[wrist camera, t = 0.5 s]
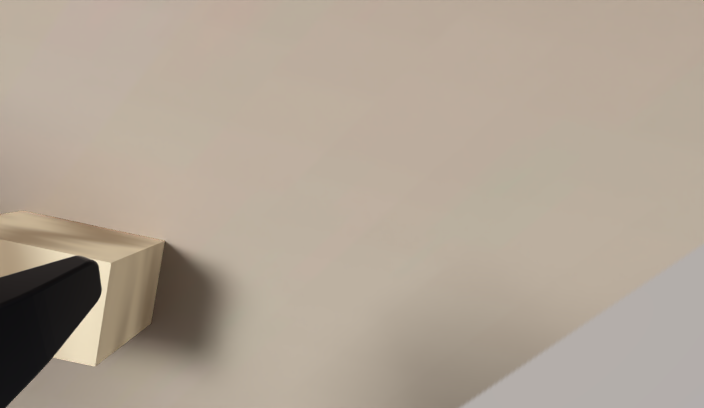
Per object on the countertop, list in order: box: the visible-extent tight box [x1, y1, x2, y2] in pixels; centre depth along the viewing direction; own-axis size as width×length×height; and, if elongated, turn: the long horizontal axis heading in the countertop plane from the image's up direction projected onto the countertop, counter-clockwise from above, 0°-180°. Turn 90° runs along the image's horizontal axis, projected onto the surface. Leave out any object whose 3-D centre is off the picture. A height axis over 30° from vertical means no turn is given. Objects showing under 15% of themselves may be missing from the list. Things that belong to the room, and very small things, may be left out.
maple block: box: [0, 211, 165, 367], centre depth 21 cm, size 8×4×5 cm, turn 78°
